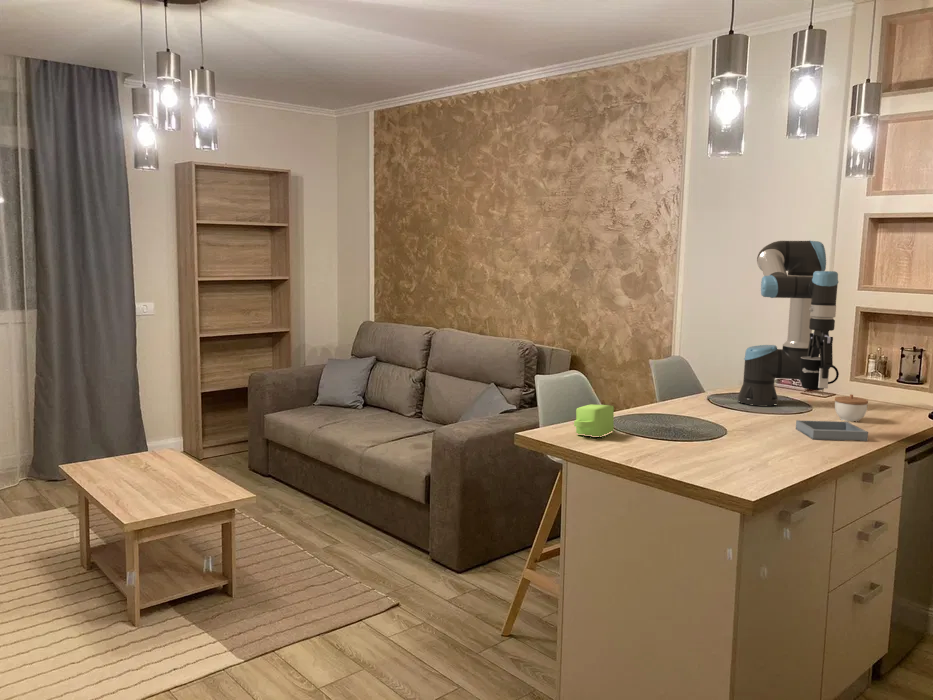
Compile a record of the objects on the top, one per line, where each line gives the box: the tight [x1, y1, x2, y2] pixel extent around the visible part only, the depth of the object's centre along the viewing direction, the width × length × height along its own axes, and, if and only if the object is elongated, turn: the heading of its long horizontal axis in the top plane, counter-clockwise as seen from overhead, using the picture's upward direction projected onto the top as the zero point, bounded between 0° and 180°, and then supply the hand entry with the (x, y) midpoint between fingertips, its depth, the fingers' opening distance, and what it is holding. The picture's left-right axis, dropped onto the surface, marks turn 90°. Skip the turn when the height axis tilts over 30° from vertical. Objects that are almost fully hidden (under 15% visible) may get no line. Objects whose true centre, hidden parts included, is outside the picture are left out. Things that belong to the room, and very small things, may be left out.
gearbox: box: [573, 403, 615, 437], centre depth 244 cm, size 18×10×10 cm, turn 145°
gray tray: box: [795, 419, 869, 442], centre depth 248 cm, size 15×17×3 cm
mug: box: [800, 356, 840, 391], centre depth 247 cm, size 12×9×10 cm
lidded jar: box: [834, 393, 869, 423], centre depth 271 cm, size 11×11×9 cm
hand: (817, 385), depth 249 cm, fingers closed on mug, 9 cm apart
